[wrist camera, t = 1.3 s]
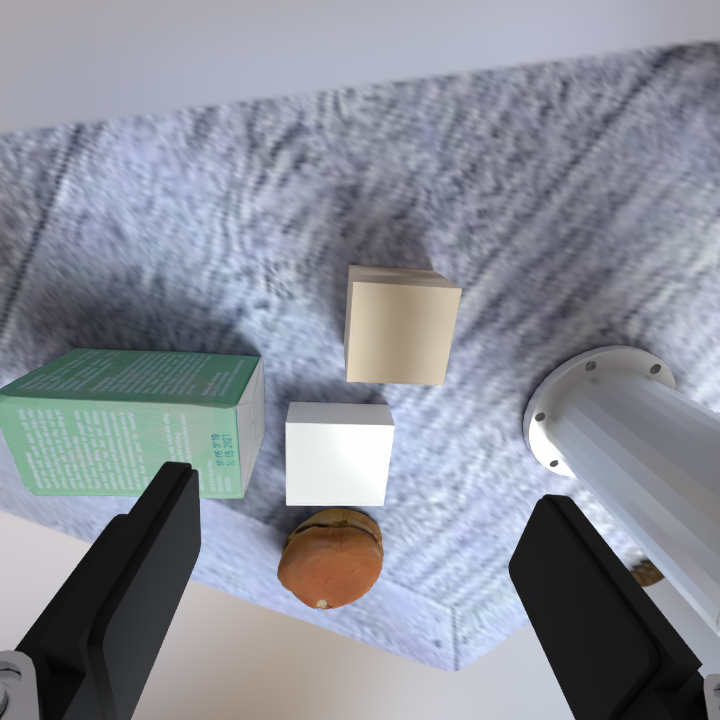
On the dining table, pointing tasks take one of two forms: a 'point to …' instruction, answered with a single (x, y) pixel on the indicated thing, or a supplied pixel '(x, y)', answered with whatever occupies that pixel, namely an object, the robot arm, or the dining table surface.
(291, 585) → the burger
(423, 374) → the maple block
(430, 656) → the dining table surface
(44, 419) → the box
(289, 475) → the white slab
